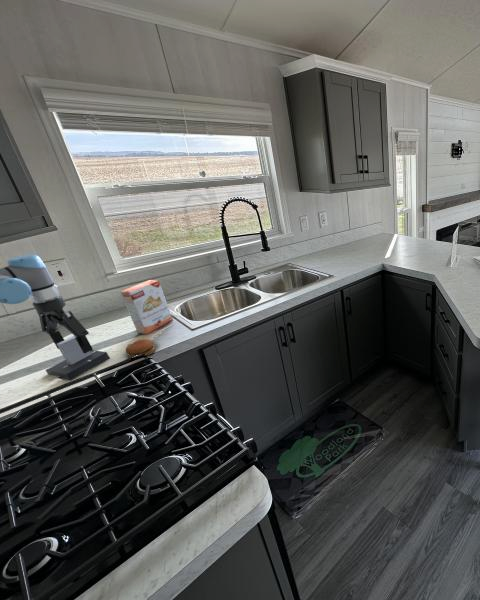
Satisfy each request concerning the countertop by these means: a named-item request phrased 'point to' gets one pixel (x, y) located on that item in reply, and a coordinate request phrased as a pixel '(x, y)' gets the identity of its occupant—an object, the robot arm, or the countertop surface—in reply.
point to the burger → (140, 347)
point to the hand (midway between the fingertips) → (75, 349)
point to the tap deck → (78, 366)
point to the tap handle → (72, 350)
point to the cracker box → (147, 306)
